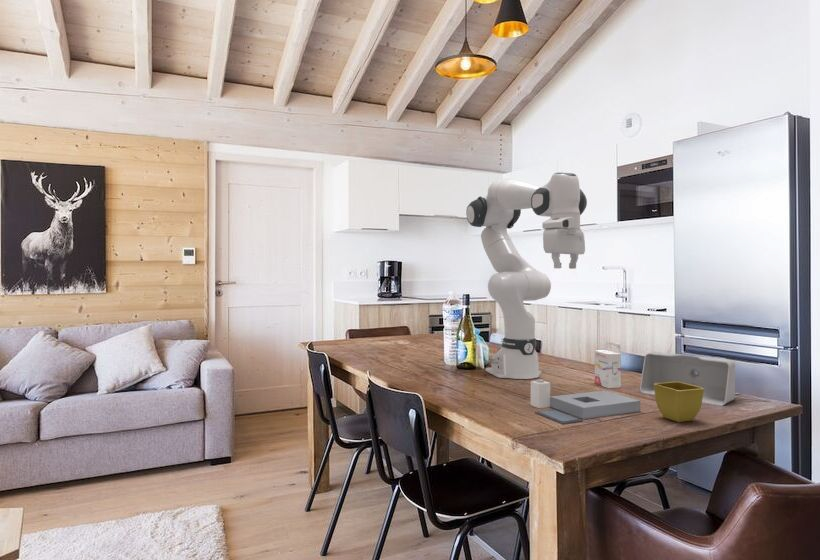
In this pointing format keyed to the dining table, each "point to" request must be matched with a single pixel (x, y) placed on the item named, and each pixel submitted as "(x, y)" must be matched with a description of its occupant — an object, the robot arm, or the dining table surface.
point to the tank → (691, 375)
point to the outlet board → (594, 404)
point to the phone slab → (559, 416)
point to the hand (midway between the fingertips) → (565, 268)
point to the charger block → (540, 393)
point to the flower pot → (678, 400)
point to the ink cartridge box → (608, 366)
